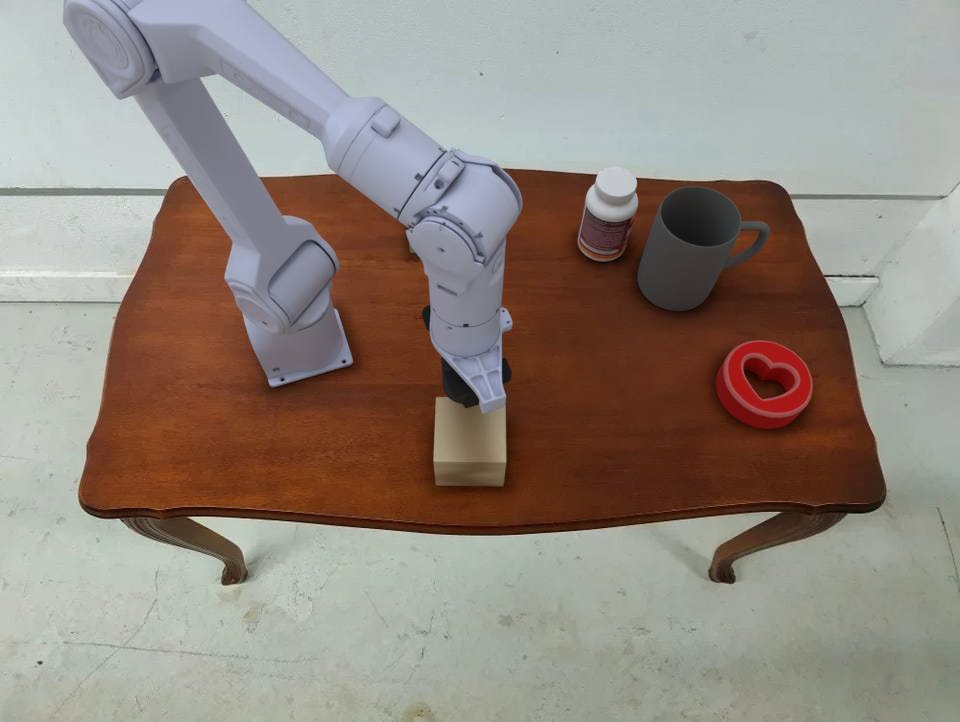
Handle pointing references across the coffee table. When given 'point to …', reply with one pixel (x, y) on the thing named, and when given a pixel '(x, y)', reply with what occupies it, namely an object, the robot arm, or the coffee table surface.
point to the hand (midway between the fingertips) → (465, 380)
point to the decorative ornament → (767, 365)
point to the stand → (469, 445)
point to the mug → (692, 247)
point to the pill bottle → (608, 214)
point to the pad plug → (445, 367)
